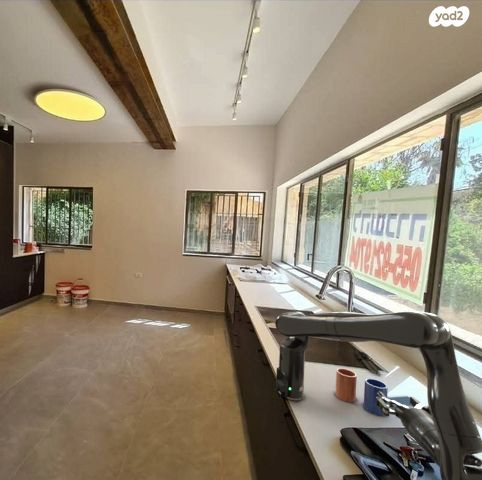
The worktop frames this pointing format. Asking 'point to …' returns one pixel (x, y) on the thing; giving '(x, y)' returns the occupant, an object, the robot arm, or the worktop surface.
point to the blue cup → (373, 394)
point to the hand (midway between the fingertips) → (395, 396)
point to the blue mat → (401, 401)
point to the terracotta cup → (346, 385)
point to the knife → (359, 355)
